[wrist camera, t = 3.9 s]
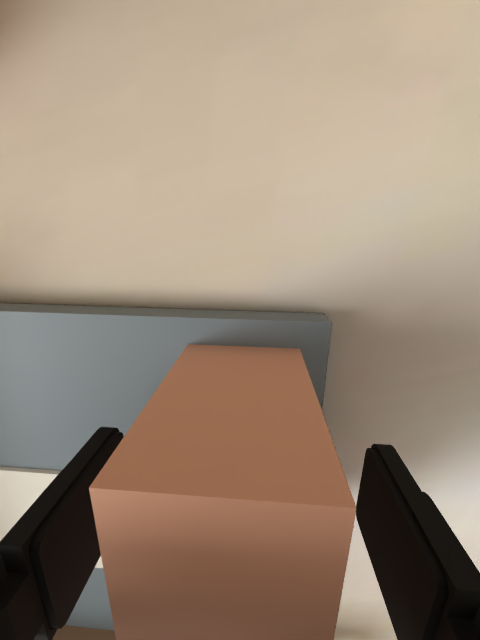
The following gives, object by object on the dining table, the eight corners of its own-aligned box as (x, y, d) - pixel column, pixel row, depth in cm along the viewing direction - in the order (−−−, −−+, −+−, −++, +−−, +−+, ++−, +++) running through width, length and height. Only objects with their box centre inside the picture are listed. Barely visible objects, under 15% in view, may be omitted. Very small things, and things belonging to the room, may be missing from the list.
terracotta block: (187, 344, 10) (88, 487, 4) (299, 348, 10) (356, 508, 4) (194, 512, 12) (137, 754, 6) (286, 519, 12) (309, 778, 6)
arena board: (-152, 298, 12) (-452, 341, 7) (324, 313, 10) (381, 380, 6) (-29, 607, 17) (-144, 754, 13) (289, 642, 16) (302, 821, 11)
